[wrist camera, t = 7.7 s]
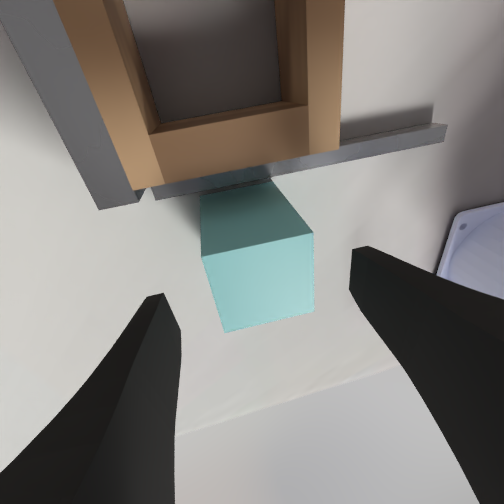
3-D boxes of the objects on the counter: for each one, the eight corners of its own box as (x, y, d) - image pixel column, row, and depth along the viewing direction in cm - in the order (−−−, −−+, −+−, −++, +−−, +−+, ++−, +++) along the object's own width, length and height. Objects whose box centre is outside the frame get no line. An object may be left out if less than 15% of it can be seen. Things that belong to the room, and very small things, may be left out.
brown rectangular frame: (307, 135, 13) (339, 148, 10) (148, 166, 12) (132, 190, 10) (299, -176, 8) (357, -326, 5) (33, -146, 7) (-71, -294, 5)
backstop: (429, 138, 14) (488, 151, 11) (129, 199, 13) (109, 230, 10) (520, -279, 8) (712, -498, 5) (-57, -226, 7) (-254, -468, 4)
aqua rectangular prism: (278, 242, 16) (314, 311, 11) (216, 256, 16) (224, 333, 11) (272, 181, 14) (313, 232, 9) (199, 195, 14) (201, 256, 9)
